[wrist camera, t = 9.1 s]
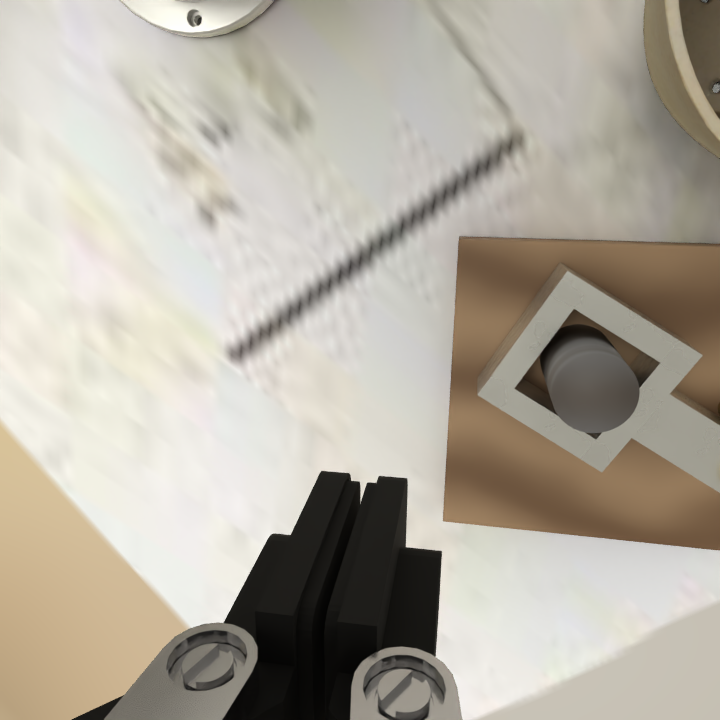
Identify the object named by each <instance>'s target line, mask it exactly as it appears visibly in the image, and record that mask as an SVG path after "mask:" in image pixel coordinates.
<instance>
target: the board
mask: <svg viewBox="0 0 720 720" xmlns="http://www.w3.org/2000/svg"><path fill="white" fill-rule="evenodd" d="M560 262H561V263H562V264H564V265H565V266H567V267H569V268H570V269H572V270H573V271H575V272H577V273H578V274H580V275H581V276H583V277H585V278H586V279H588V280H589V281H591V282H593V283H594V284H596V285H597V286H599V287H601V288H602V289H604V290H605V291H607V292H609V293H610V294H612V295H613V296H615V297H617V298H618V299H620V300H621V301H623V302H625V303H626V304H628V305H630V306H631V307H633V308H634V309H636V310H638V311H639V312H641V313H642V314H644V315H646V316H647V317H649V318H650V319H652V320H654V321H655V322H657V323H658V324H660V325H662V326H663V327H665V328H666V329H668V330H670V331H671V332H673V333H674V334H676V335H678V336H679V337H681V338H682V339H684V340H685V341H686V342H688V343H689V344H690V345H691V346H692V347H694V348H695V349H696V350H697V351H698V352H700V353H701V354H702V355H703V356H702V357H701V358H700V359H699V360H698V362H697V363H696V364H695V365H694V366H693V367H692V369H691V370H690V371H689V372H688V373H687V374H686V376H685V377H684V378H683V379H682V380H681V381H680V383H679V384H678V385H677V386H676V387H675V389H676V390H678V391H679V392H681V393H683V394H684V395H686V396H687V397H689V398H691V399H692V400H694V401H695V402H697V403H699V404H700V405H702V406H703V407H705V408H707V409H708V410H710V411H711V412H713V413H715V414H716V415H718V416H719V417H720V244H706V243H671V242H635V241H600V240H564V239H529V238H493V237H459V246H458V263H457V281H456V299H455V316H454V334H453V352H452V370H451V387H450V405H449V423H448V440H447V458H446V476H445V493H444V511H443V521H446V522H455V523H465V524H474V525H484V526H493V527H503V528H512V529H522V530H531V531H541V532H550V533H559V534H569V535H578V536H588V537H597V538H607V539H616V540H626V541H635V542H645V543H654V544H664V545H673V546H683V547H692V548H702V549H711V550H720V493H719V492H718V491H716V490H714V489H713V488H711V487H709V486H708V485H706V484H705V483H703V482H701V481H700V480H698V479H697V478H695V477H693V476H692V475H690V474H689V473H687V472H685V471H684V470H682V469H681V468H679V467H677V466H676V465H674V464H673V463H671V462H669V461H668V460H666V459H665V458H663V457H661V456H660V455H658V454H656V453H655V452H653V451H652V450H650V449H648V448H647V447H645V446H644V445H642V444H640V443H639V442H637V441H636V440H634V439H632V438H631V439H630V441H629V442H628V443H627V444H626V445H625V446H624V447H623V449H622V450H621V451H620V452H619V453H618V454H617V456H616V457H615V458H614V459H613V460H612V461H611V463H610V464H609V465H608V466H607V467H606V468H605V469H604V471H603V472H600V471H599V470H597V469H595V468H594V467H592V466H591V465H589V464H587V463H586V462H584V461H583V460H581V459H579V458H578V457H576V456H574V455H573V454H571V453H570V452H568V451H566V450H565V449H563V448H562V447H560V446H558V445H557V444H555V443H554V442H552V441H550V440H549V439H547V438H546V437H544V436H542V435H541V434H539V433H538V432H536V431H534V430H533V429H531V428H530V427H528V426H526V425H525V424H523V423H521V422H520V421H518V420H517V419H515V418H513V417H512V416H510V415H509V414H507V413H505V412H504V411H502V410H501V409H499V408H497V407H496V406H494V405H493V404H491V403H489V402H488V401H486V400H485V399H483V398H481V397H480V396H478V395H477V377H478V376H479V374H480V373H481V372H482V370H483V369H484V367H485V366H486V365H487V363H488V362H489V360H490V359H491V358H492V356H493V355H494V353H495V352H496V351H497V349H498V348H499V346H500V345H501V344H502V342H503V341H504V340H505V338H506V337H507V335H508V334H509V333H510V331H511V330H512V328H513V327H514V326H515V324H516V323H517V321H518V320H519V319H520V317H521V316H522V314H523V313H524V312H525V310H526V309H527V307H528V306H529V305H530V303H531V302H532V300H533V299H534V298H535V296H536V295H537V293H538V292H539V291H540V289H541V288H542V286H543V285H544V284H545V282H546V281H547V279H548V278H549V277H550V275H551V274H552V272H553V271H554V270H555V268H556V267H557V265H558V264H559V263H560ZM640 353H641V350H639V349H638V348H636V347H635V346H633V345H631V344H630V343H628V342H627V341H625V340H623V339H622V338H620V337H619V336H617V335H615V334H614V333H612V332H610V331H609V330H607V329H606V328H604V327H602V326H601V325H599V324H598V323H596V322H594V321H593V320H591V319H590V318H588V317H586V316H585V315H583V314H582V313H580V312H578V311H577V310H575V309H573V311H572V312H571V313H570V315H569V316H568V317H567V319H566V320H565V321H564V323H563V324H562V325H561V327H560V328H559V329H558V331H557V332H556V333H555V335H554V336H553V337H552V339H551V340H550V341H549V343H548V344H547V345H546V347H545V348H544V349H543V351H542V352H541V353H540V355H539V356H538V357H537V359H536V360H535V361H534V363H533V364H532V365H531V367H530V368H529V369H528V371H527V372H526V373H525V375H524V376H523V377H522V378H523V379H525V380H526V381H528V382H529V383H531V384H533V385H534V386H536V387H537V388H539V389H541V390H542V391H544V392H546V393H547V394H549V395H550V397H551V400H552V404H553V407H554V409H555V411H556V413H557V415H558V416H559V417H560V419H561V420H562V421H563V422H564V423H566V424H567V425H568V426H570V427H572V428H574V429H576V430H578V431H582V432H587V433H601V432H606V431H609V430H612V429H614V428H617V427H618V426H620V425H622V424H623V423H624V422H625V421H627V420H628V419H629V418H630V416H631V415H632V414H633V412H634V411H635V409H636V407H637V404H638V401H639V394H640V390H639V384H638V381H637V378H636V376H635V374H634V373H633V371H632V370H631V369H630V367H629V366H630V365H631V364H632V363H633V361H634V360H635V359H636V358H637V356H638V355H639V354H640Z"/></svg>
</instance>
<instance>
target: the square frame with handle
mask: <svg viewBox="0 0 720 720" xmlns="http://www.w3.org/2000/svg"><path fill="white" fill-rule="evenodd" d="M573 309H575V310H577V311H578V312H580V313H582V314H583V315H585V316H586V317H588V318H590V319H591V320H593V321H594V322H596V323H598V324H599V325H601V326H602V327H604V328H606V329H607V330H609V331H610V332H612V333H614V334H615V335H617V336H619V337H620V338H622V339H623V340H625V341H627V342H628V343H630V344H631V345H633V346H635V347H636V348H638V349H639V350H641V353H640V354H639V355H638V356H637V358H636V359H635V360H634V361H633V363H632V364H631V365H630V366H629V367H630V369H631V370H632V371H633V373H634V374H635V376H636V378H637V381H638V384H639V390H640V394H639V401H638V404H637V407H636V409H635V411H634V412H633V414H632V415H631V416H630V418H629V419H628V420H627V421H625V422H624V423H623V424H622V425H620V426H618V427H617V428H614V429H612V430H609V431H606V432H601V433H587V432H582V431H578V430H576V429H574V428H572V427H570V426H568V425H567V424H566V423H564V422H563V421H562V420H561V419H560V417H559V416H558V415H557V413H556V411H555V409H554V407H553V404H552V400H551V397H550V395H549V394H547V393H546V392H544V391H542V390H541V389H539V388H537V387H536V386H534V385H533V384H531V383H529V382H528V381H526V380H525V379H523V378H522V377H523V376H524V375H525V373H526V372H527V371H528V369H529V368H530V367H531V365H532V364H533V363H534V361H535V360H536V359H537V357H538V356H539V355H540V353H541V352H542V351H543V349H544V348H545V347H546V345H547V344H548V343H549V341H550V340H551V339H552V337H553V336H554V335H555V333H556V332H557V331H558V329H559V328H560V327H561V325H562V324H563V323H564V321H565V320H566V319H567V317H568V316H569V315H570V313H571V312H572V311H573ZM702 356H703V355H702V354H701V353H700V352H698V351H697V350H696V349H695V348H694V347H692V346H691V345H690V344H689V343H688V342H686V341H685V340H684V339H682V338H681V337H679V336H678V335H676V334H674V333H673V332H671V331H670V330H668V329H666V328H665V327H663V326H662V325H660V324H658V323H657V322H655V321H654V320H652V319H650V318H649V317H647V316H646V315H644V314H642V313H641V312H639V311H638V310H636V309H634V308H633V307H631V306H630V305H628V304H626V303H625V302H623V301H621V300H620V299H618V298H617V297H615V296H613V295H612V294H610V293H609V292H607V291H605V290H604V289H602V288H601V287H599V286H597V285H596V284H594V283H593V282H591V281H589V280H588V279H586V278H585V277H583V276H581V275H580V274H578V273H577V272H575V271H573V270H572V269H570V268H569V267H567V266H565V265H564V264H562V263H561V262H560V263H559V264H558V265H557V267H556V268H555V270H554V271H553V272H552V274H551V275H550V277H549V278H548V279H547V281H546V282H545V284H544V285H543V286H542V288H541V289H540V291H539V292H538V293H537V295H536V296H535V298H534V299H533V300H532V302H531V303H530V305H529V306H528V307H527V309H526V310H525V312H524V313H523V314H522V316H521V317H520V319H519V320H518V321H517V323H516V324H515V326H514V327H513V328H512V330H511V331H510V333H509V334H508V335H507V337H506V338H505V340H504V341H503V342H502V344H501V345H500V346H499V348H498V349H497V351H496V352H495V353H494V355H493V356H492V358H491V359H490V360H489V362H488V363H487V365H486V366H485V367H484V369H483V370H482V372H481V373H480V374H479V376H478V377H477V395H478V396H480V397H481V398H483V399H485V400H486V401H488V402H489V403H491V404H493V405H494V406H496V407H497V408H499V409H501V410H502V411H504V412H505V413H507V414H509V415H510V416H512V417H513V418H515V419H517V420H518V421H520V422H521V423H523V424H525V425H526V426H528V427H530V428H531V429H533V430H534V431H536V432H538V433H539V434H541V435H542V436H544V437H546V438H547V439H549V440H550V441H552V442H554V443H555V444H557V445H558V446H560V447H562V448H563V449H565V450H566V451H568V452H570V453H571V454H573V455H574V456H576V457H578V458H579V459H581V460H583V461H584V462H586V463H587V464H589V465H591V466H592V467H594V468H595V469H597V470H599V471H600V472H603V471H604V469H605V468H606V467H607V466H608V465H609V464H610V463H611V461H612V460H613V459H614V458H615V457H616V456H617V454H618V453H619V452H620V451H621V450H622V449H623V447H624V446H625V445H626V444H627V443H628V442H629V441H630V439H631V438H632V439H634V440H636V441H637V442H639V443H640V444H642V445H644V446H645V447H647V448H648V449H650V450H652V451H653V452H655V453H656V454H658V455H660V456H661V457H663V458H665V459H666V460H668V461H669V462H671V463H673V464H674V465H676V466H677V467H679V468H681V469H682V470H684V471H685V472H687V473H689V474H690V475H692V476H693V477H695V478H697V479H698V480H700V481H701V482H703V483H705V484H706V485H708V486H709V487H711V488H713V489H714V490H716V491H718V492H719V493H720V417H719V416H718V415H716V414H715V413H713V412H711V411H710V410H708V409H707V408H705V407H703V406H702V405H700V404H699V403H697V402H695V401H694V400H692V399H691V398H689V397H687V396H686V395H684V394H683V393H681V392H679V391H678V390H676V389H675V387H676V386H677V385H678V384H679V383H680V381H681V380H682V379H683V378H684V377H685V376H686V374H687V373H688V372H689V371H690V370H691V369H692V367H693V366H694V365H695V364H696V363H697V362H698V360H699V359H700V358H701V357H702Z"/></svg>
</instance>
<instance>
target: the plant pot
mask: <svg viewBox="0 0 720 720" xmlns="http://www.w3.org/2000/svg"><path fill="white" fill-rule="evenodd" d="M643 31H644V47H645V54H646V60H647V65H648V69H649V72H650V76H651V79H652V81H653V84H654V86H655V89H656V91H657V93H658V95H659V97H660V98H661V100H662V102H663V104H664V105H665V107H666V108H667V110H668V111H669V113H670V114H671V115H672V117H673V118H674V119H675V120H676V122H677V123H678V124H679V125H680V126H681V127H682V128H683V129H684V130H685V131H686V132H687V133H688V134H689V135H690V136H691V137H692V138H693V139H694V140H695V141H697V142H698V143H699V144H700V145H702V146H703V147H704V148H705V149H707V150H708V151H709V152H711V153H712V154H714V155H715V156H716V157H718V158H719V159H720V91H719V92H718V93H714V92H713V90H712V87H713V85H714V84H715V83H716V82H720V0H708V2H707V3H704V2H702V1H701V0H645V9H644V30H643Z"/></svg>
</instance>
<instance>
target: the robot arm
mask: <svg viewBox="0 0 720 720" xmlns="http://www.w3.org/2000/svg"><path fill="white" fill-rule="evenodd" d="M119 1H120V2H122V3H123V4H124V5H125V6H126V7H127V8H128V9H129V10H130V11H131V12H132V13H133V14H135V15H137V16H138V17H140V18H141V19H143V20H145V21H146V22H148V23H149V24H151V25H153V26H155V27H158V28H160V29H162V30H165V31H167V32H170V33H174V34H178V35H182V36H186V37H212V36H217V35H222V34H227V33H229V32H231V31H234V30H236V29H238V28H240V27H243V26H245V25H247V24H248V23H249V22H251V21H252V20H254V19H255V18H256V17H258V16H259V15H260V14H262V13H263V12H264V11H265V10H266V9H267V8H268V7H269V6H270V5H271V3H272V2H273V1H274V0H119ZM200 17H202V21H201V24H200V25H198V23H197V22H198V19H199V18H200ZM407 486H408V484H407V478H396V477H385V476H379V477H378V480H377V483H367V485H366V488H365V491H364V495H363V498H362V501H361V504H360V482H357V481H351V477H350V474H349V473H339V472H327V471H321V473H320V474H319V476H318V479H317V481H316V483H315V485H314V487H313V489H312V491H311V493H310V495H309V498H308V500H307V502H306V504H305V506H304V508H303V510H302V512H301V514H300V517H299V519H298V521H297V523H296V525H295V527H294V529H293V531H292V533H291V535H283V534H272V535H270V537H269V538H268V540H267V542H266V544H265V546H264V547H263V549H262V551H261V553H260V555H259V557H258V559H257V561H256V563H255V564H254V566H253V568H252V570H251V572H250V574H249V576H248V578H247V580H246V581H245V583H244V585H243V587H242V589H241V591H240V593H239V595H238V597H237V599H236V600H235V602H234V604H233V606H232V608H231V610H230V612H229V614H228V616H227V617H226V619H225V621H224V623H210V624H203V625H200V626H196V627H193V628H190V629H188V630H186V631H184V632H183V633H181V634H179V635H177V636H176V637H174V638H173V639H172V640H171V641H170V642H169V643H168V644H167V645H166V646H165V647H164V648H163V649H162V650H161V652H160V653H159V654H158V655H157V656H156V658H155V659H154V660H153V661H152V662H151V664H150V665H149V666H148V667H147V668H146V670H145V671H144V672H143V673H142V674H141V676H140V677H139V678H138V679H137V680H136V682H135V683H134V684H133V685H132V686H131V688H130V689H129V690H128V691H127V692H126V694H125V695H123V696H121V697H119V698H117V699H115V700H113V701H110V702H108V703H106V704H104V705H102V706H100V707H98V708H95V709H93V710H91V711H89V712H87V713H85V714H83V715H80V716H78V717H76V718H74V719H72V720H462V715H461V709H460V702H459V696H458V690H457V686H456V683H455V680H454V677H453V674H452V673H451V672H450V671H449V669H448V668H447V667H446V665H445V664H444V663H443V662H442V661H440V660H439V659H437V658H436V657H435V656H436V642H437V627H438V611H439V594H440V576H441V557H442V551H435V550H426V549H416V548H407V547H406V518H407Z"/></svg>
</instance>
